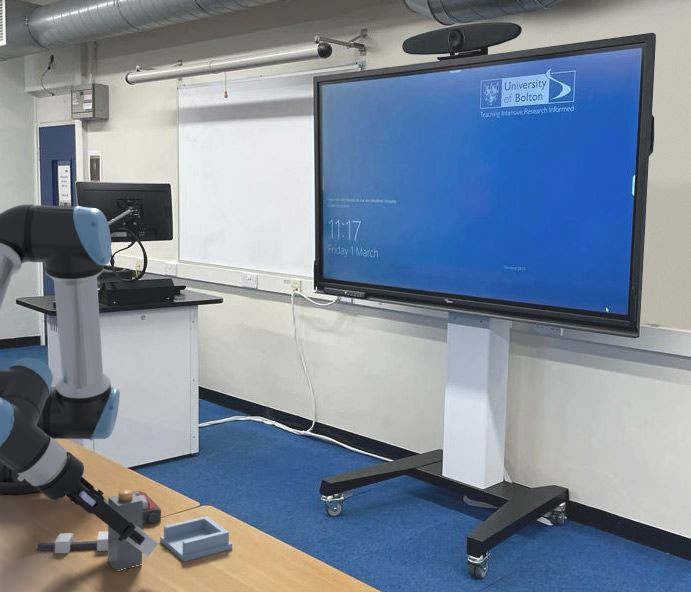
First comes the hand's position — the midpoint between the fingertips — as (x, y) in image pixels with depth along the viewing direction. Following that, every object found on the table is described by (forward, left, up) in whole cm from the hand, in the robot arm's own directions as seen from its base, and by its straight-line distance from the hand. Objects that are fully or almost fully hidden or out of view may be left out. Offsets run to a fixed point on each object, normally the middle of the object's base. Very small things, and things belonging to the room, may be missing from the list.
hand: (137, 535), depth 138 cm
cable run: (-10, -6, -5) cm, 13 cm away
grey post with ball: (0, -2, -5) cm, 5 cm away
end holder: (0, +12, -5) cm, 13 cm away
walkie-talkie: (-17, +7, -5) cm, 19 cm away
